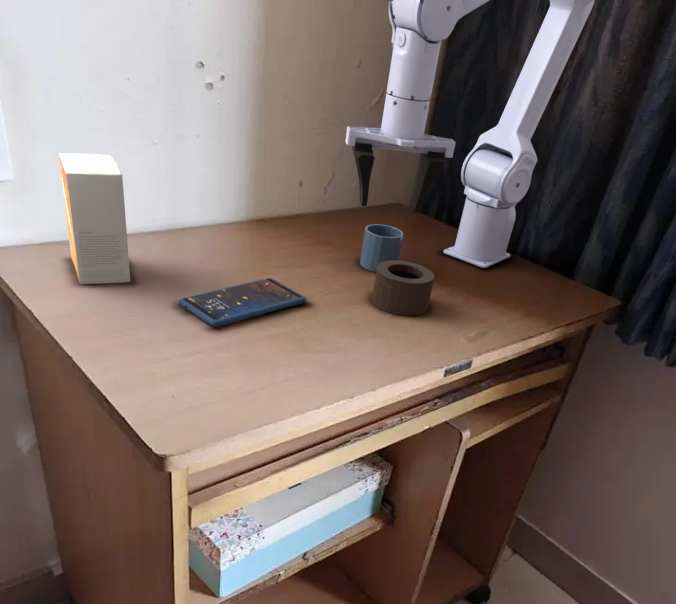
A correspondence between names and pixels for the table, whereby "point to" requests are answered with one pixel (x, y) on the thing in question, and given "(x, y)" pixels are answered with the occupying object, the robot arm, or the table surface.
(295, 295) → the smartphone
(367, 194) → the robot arm
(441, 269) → the table surface
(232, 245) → the table surface
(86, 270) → the small box
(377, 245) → the cup
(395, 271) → the brown short cylinder
